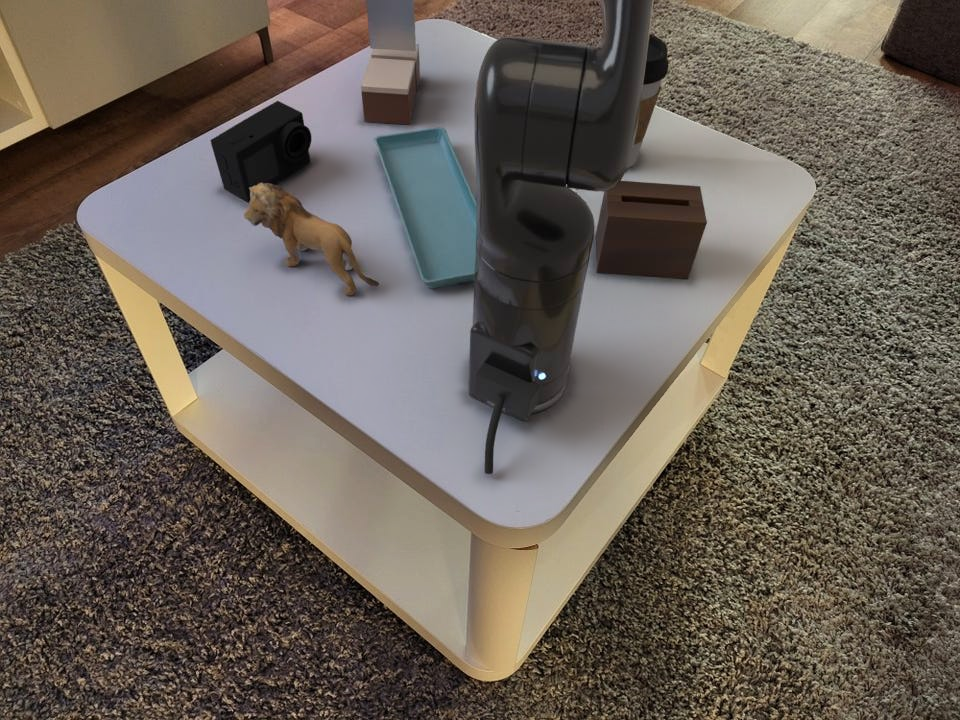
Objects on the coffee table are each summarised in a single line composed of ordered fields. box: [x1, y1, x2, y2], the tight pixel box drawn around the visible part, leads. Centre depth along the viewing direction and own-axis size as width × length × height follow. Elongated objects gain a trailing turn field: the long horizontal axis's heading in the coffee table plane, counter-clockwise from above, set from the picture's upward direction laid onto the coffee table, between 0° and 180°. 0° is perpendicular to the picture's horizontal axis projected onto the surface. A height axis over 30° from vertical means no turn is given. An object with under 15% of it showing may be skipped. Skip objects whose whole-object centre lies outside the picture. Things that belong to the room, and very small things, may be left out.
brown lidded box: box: [360, 57, 417, 126], centre depth 100 cm, size 7×6×5 cm
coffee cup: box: [627, 33, 669, 169], centre depth 91 cm, size 8×8×15 cm
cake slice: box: [370, 43, 421, 94], centre depth 104 cm, size 4×6×5 cm, turn 86°
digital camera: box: [210, 100, 312, 203], centre depth 89 cm, size 10×5×7 cm, turn 144°
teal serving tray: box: [373, 126, 477, 289], centre depth 88 cm, size 26×9×2 cm, turn 16°
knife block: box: [594, 180, 708, 280], centre depth 82 cm, size 6×10×8 cm, turn 86°
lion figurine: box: [243, 183, 380, 296], centre depth 79 cm, size 15×5×9 cm, turn 66°
